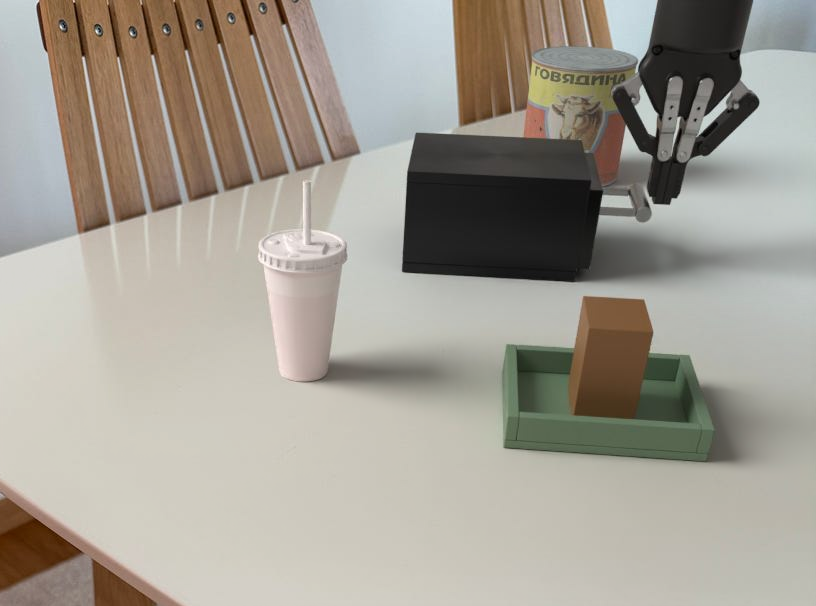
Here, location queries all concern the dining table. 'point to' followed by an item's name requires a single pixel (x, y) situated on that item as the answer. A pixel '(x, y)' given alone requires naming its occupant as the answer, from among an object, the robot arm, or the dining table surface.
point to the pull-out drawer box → (608, 209)
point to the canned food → (579, 101)
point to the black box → (495, 206)
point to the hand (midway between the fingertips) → (660, 201)
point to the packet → (609, 357)
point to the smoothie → (303, 293)
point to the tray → (641, 437)
